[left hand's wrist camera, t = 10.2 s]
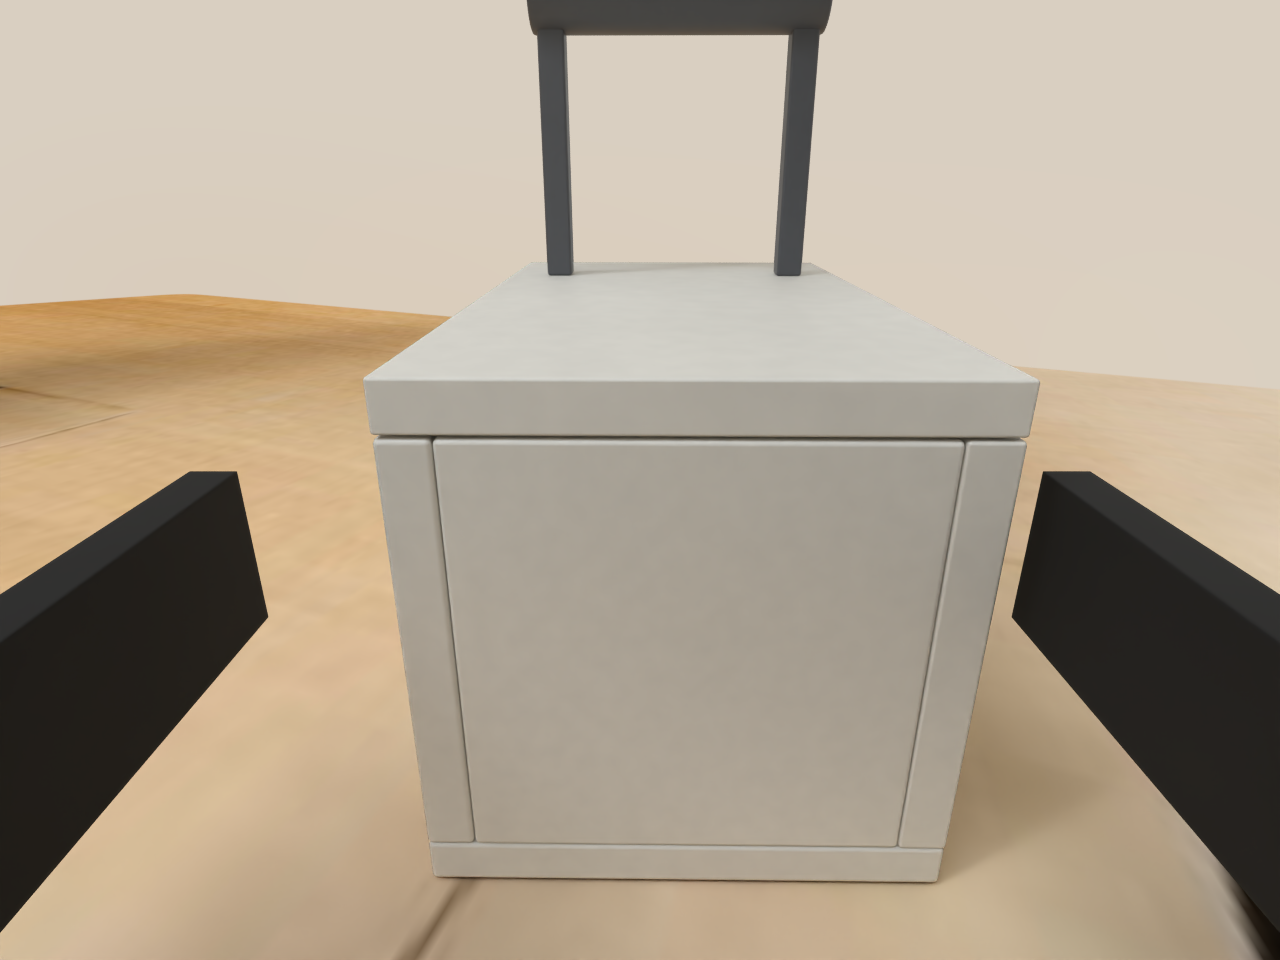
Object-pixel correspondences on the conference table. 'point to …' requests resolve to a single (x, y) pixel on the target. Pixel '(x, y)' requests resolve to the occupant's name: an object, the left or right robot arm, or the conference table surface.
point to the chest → (693, 648)
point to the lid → (690, 306)
